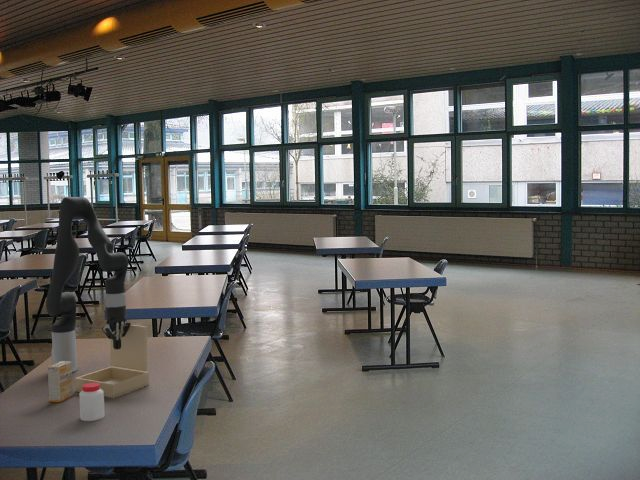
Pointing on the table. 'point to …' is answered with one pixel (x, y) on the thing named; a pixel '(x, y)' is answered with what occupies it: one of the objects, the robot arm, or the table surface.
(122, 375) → the box
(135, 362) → the flap
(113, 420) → the table surface
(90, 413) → the pill bottle
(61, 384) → the supplement box
